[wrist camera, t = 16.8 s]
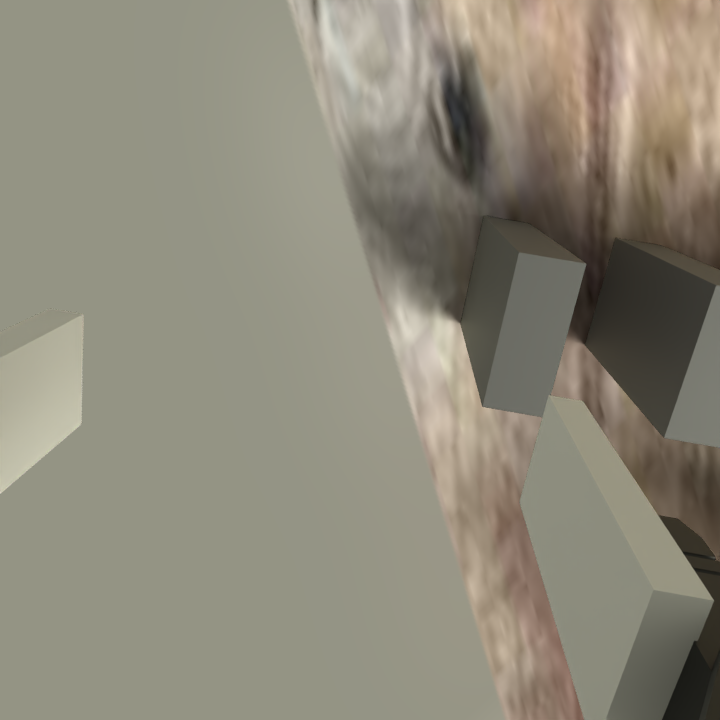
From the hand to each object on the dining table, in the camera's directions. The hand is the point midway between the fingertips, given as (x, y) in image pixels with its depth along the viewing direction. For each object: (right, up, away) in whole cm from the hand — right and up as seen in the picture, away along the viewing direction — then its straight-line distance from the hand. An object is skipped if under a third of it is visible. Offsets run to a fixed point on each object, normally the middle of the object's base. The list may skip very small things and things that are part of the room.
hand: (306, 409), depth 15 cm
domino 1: (+8, +6, +21) cm, 23 cm away
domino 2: (+15, +5, +20) cm, 26 cm away
